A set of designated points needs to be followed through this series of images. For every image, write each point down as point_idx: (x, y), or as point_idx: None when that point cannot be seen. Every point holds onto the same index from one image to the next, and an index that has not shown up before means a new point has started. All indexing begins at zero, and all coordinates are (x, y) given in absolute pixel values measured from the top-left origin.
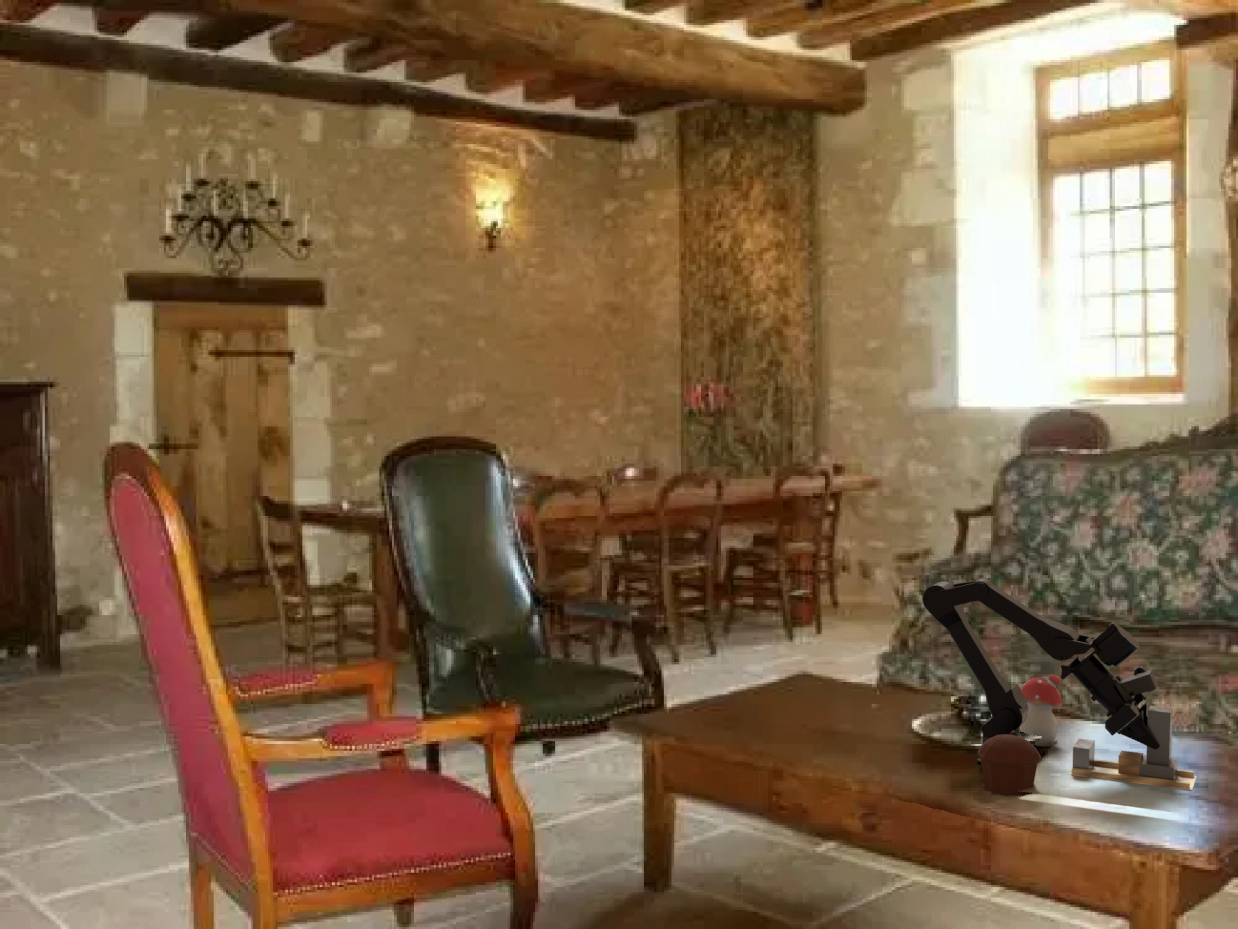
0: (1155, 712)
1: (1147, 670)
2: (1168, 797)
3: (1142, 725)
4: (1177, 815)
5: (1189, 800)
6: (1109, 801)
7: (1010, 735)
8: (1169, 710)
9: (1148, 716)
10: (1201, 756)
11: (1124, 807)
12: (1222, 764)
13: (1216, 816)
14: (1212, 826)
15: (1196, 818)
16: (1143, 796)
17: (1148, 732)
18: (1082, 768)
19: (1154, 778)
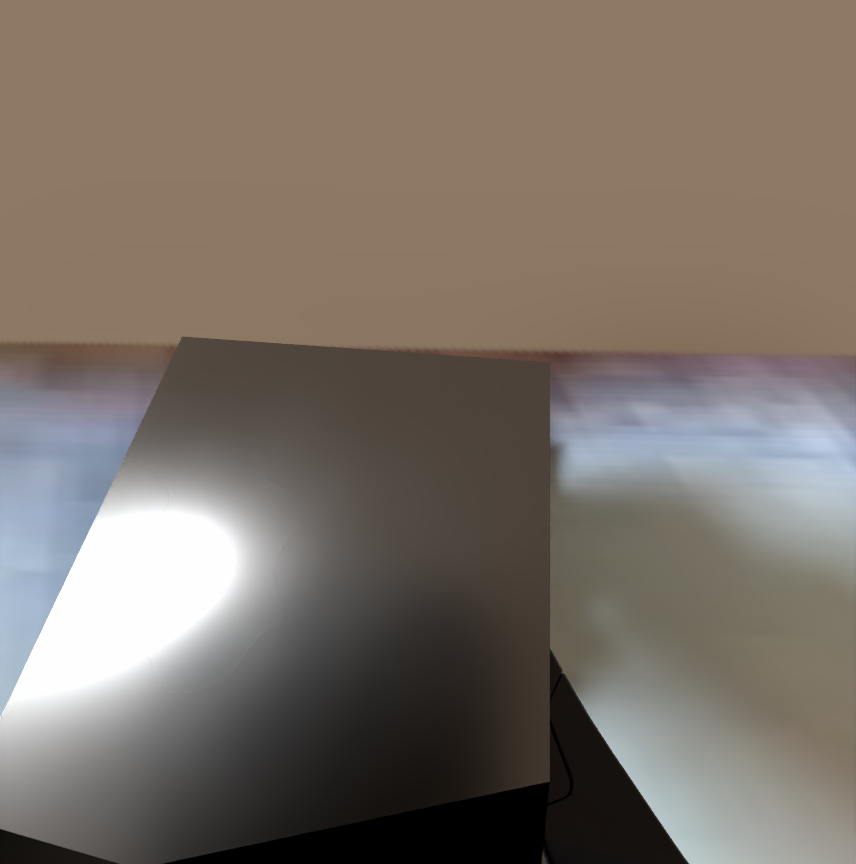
0: (537, 675)
1: None
2: (574, 516)
3: (662, 841)
4: (787, 492)
5: (576, 450)
6: (780, 784)
7: None
8: (366, 378)
9: (511, 798)
10: (70, 406)
11: (829, 705)
12: (154, 357)
13: (711, 381)
14: (833, 393)
15: (777, 434)
16: (609, 611)
17: (563, 678)
18: None
19: None
